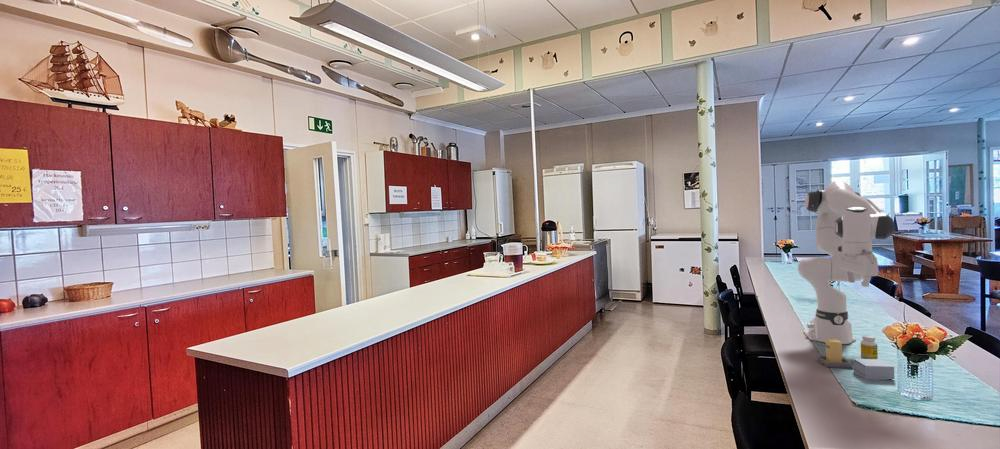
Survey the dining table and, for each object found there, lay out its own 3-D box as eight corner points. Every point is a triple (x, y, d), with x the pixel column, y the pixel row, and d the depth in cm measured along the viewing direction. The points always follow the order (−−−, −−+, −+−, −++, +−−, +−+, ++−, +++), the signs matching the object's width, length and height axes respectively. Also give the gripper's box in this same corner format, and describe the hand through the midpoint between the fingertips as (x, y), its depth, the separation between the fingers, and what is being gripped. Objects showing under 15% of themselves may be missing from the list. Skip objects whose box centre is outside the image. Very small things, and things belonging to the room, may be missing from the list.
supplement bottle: (863, 356, 189) (863, 333, 189) (879, 359, 185) (879, 336, 184) (858, 359, 186) (858, 336, 186) (874, 362, 182) (874, 339, 181)
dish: (817, 360, 187) (816, 355, 187) (840, 360, 185) (840, 356, 185) (827, 367, 178) (827, 362, 178) (852, 368, 177) (852, 363, 177)
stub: (825, 360, 184) (825, 339, 184) (837, 361, 183) (836, 339, 183) (830, 364, 180) (830, 342, 180) (842, 364, 179) (841, 342, 179)
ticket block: (853, 371, 173) (853, 358, 173) (880, 372, 171) (880, 359, 171) (865, 379, 166) (865, 365, 165) (894, 380, 164) (894, 366, 164)
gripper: (883, 251, 164) (884, 289, 165) (852, 246, 184) (852, 280, 185) (863, 251, 165) (864, 289, 166) (834, 246, 185) (835, 280, 186)
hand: (858, 284), depth 175 cm, fingers open, 8 cm apart
